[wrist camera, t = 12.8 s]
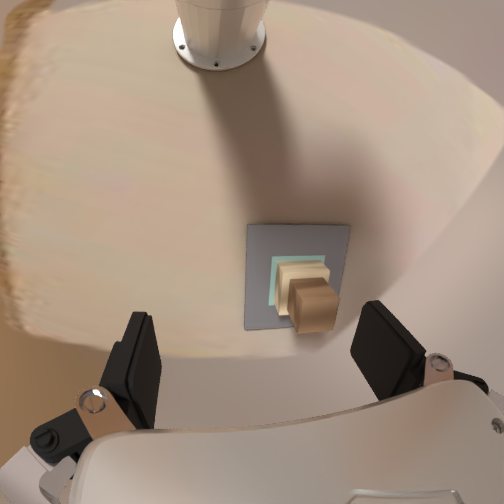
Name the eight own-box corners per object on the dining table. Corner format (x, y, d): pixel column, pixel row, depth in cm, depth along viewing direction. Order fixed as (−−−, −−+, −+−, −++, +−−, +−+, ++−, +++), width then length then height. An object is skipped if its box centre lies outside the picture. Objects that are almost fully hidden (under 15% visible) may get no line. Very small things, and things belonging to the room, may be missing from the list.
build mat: (247, 224, 39) (247, 225, 38) (349, 225, 41) (350, 226, 41) (244, 328, 45) (244, 330, 45) (331, 321, 48) (332, 322, 47)
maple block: (276, 261, 41) (283, 272, 37) (320, 260, 42) (330, 270, 38) (273, 301, 43) (279, 315, 40) (314, 298, 44) (322, 311, 41)
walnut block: (289, 279, 38) (302, 301, 32) (323, 277, 38) (339, 298, 33) (286, 309, 40) (298, 334, 34) (318, 306, 40) (333, 329, 35)
